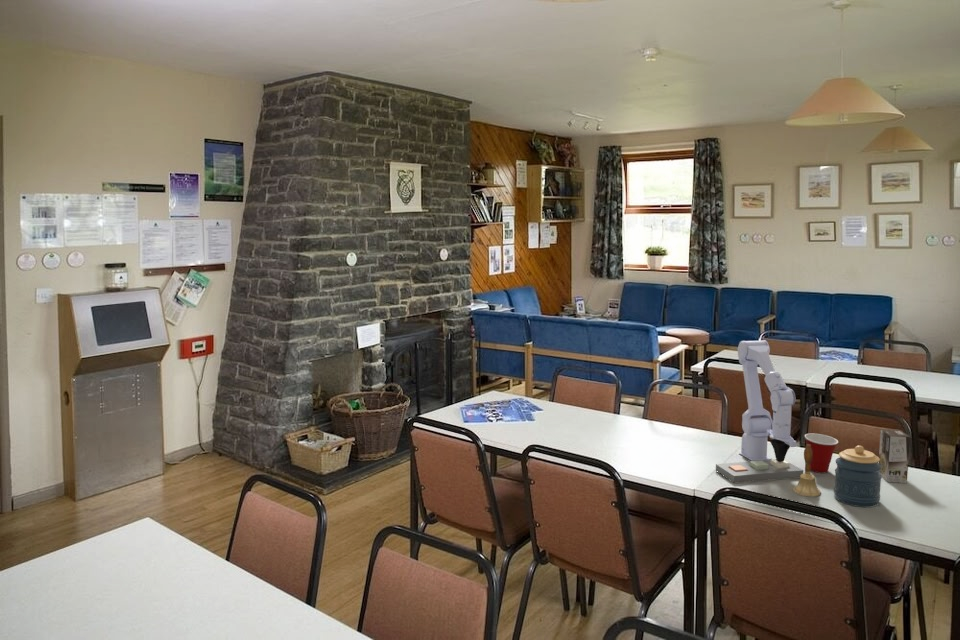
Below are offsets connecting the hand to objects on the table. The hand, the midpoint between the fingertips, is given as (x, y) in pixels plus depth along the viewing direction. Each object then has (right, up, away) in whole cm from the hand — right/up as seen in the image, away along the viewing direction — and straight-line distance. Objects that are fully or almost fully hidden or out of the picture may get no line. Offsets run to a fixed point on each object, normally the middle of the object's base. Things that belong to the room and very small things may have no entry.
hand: (780, 460), depth 243 cm
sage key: (-8, -3, -1) cm, 8 cm away
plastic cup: (+15, -4, +2) cm, 16 cm away
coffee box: (+36, -5, -6) cm, 37 cm away
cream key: (0, -2, 0) cm, 2 cm away
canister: (+14, -8, -24) cm, 29 cm away
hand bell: (+1, -7, -17) cm, 19 cm away
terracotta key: (-16, -4, -2) cm, 16 cm away
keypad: (-8, -4, -1) cm, 9 cm away
